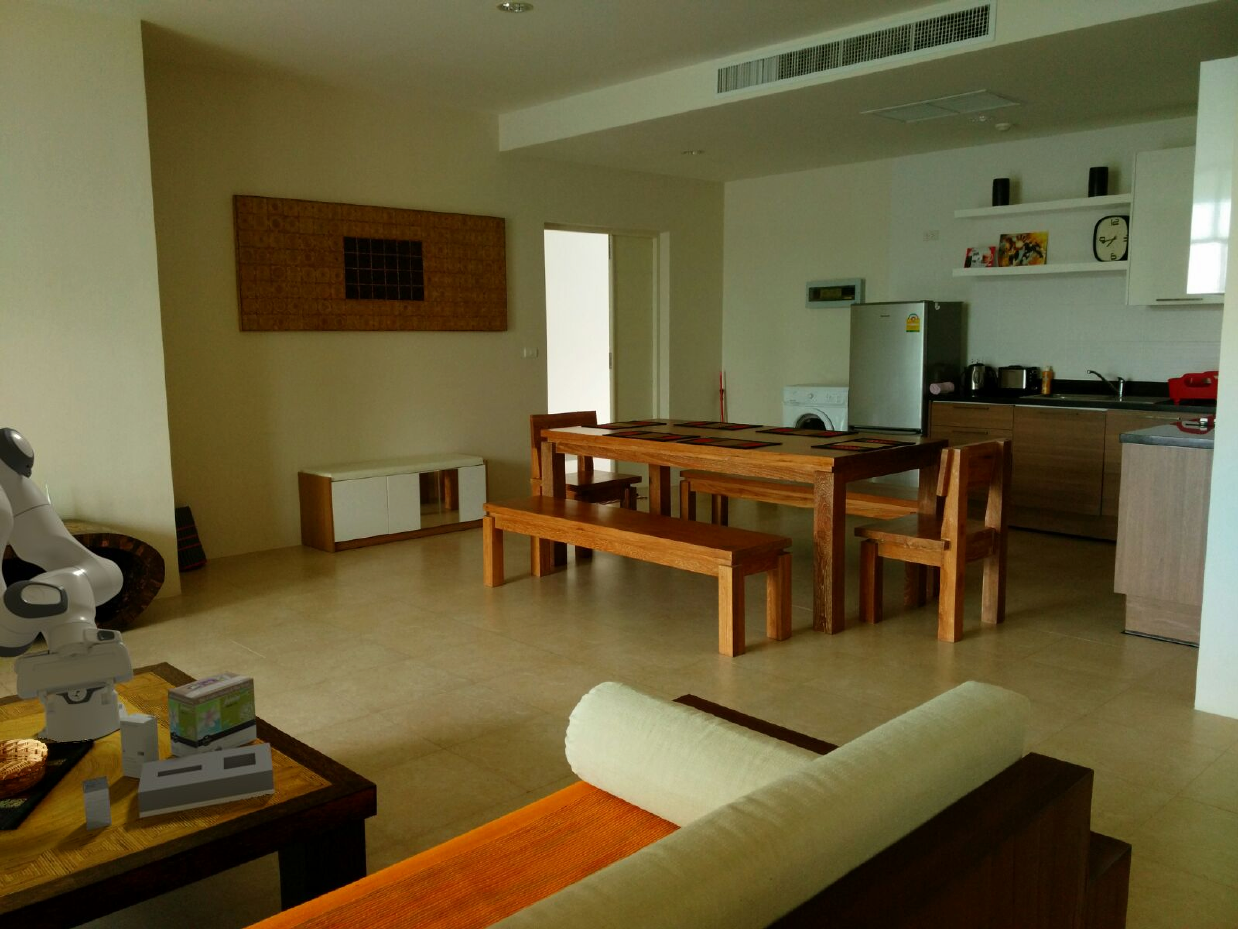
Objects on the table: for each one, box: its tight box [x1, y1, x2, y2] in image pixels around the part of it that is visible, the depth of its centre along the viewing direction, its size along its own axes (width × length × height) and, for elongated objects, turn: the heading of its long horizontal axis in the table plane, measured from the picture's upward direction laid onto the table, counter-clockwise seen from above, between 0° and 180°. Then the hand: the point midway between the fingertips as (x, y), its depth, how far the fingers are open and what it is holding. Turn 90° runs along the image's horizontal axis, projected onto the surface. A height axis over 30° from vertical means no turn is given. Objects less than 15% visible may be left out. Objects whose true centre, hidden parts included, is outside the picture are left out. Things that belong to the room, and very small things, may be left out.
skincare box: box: [120, 712, 160, 779], centre depth 203 cm, size 6×4×12 cm
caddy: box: [137, 742, 275, 819], centre depth 196 cm, size 14×24×5 cm, turn 112°
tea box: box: [167, 670, 257, 757], centre depth 216 cm, size 15×10×15 cm, turn 148°
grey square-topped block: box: [81, 775, 113, 831], centre depth 183 cm, size 4×4×8 cm
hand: (78, 708), depth 191 cm, fingers open, 8 cm apart
